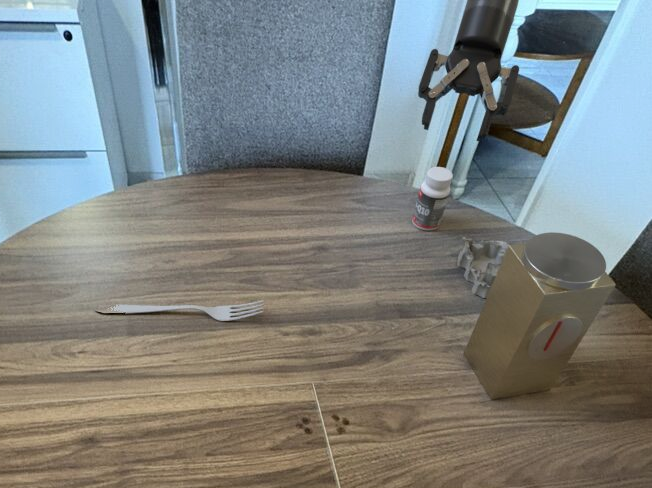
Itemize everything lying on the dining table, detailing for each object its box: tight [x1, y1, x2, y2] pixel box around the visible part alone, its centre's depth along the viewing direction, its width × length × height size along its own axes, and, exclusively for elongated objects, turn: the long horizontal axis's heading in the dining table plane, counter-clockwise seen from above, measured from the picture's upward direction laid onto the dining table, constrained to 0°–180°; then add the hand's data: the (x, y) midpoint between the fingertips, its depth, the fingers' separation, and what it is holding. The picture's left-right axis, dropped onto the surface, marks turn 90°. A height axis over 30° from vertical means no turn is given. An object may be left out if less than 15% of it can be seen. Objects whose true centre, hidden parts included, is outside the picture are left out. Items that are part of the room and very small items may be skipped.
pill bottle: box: [411, 166, 454, 231], centre depth 99 cm, size 5×5×8 cm
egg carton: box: [456, 235, 510, 299], centre depth 94 cm, size 11×8×4 cm
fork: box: [108, 300, 265, 322], centre depth 87 cm, size 3×24×2 cm, turn 90°
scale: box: [463, 231, 617, 401], centre depth 77 cm, size 9×10×18 cm
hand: (452, 133), depth 97 cm, fingers open, 8 cm apart
